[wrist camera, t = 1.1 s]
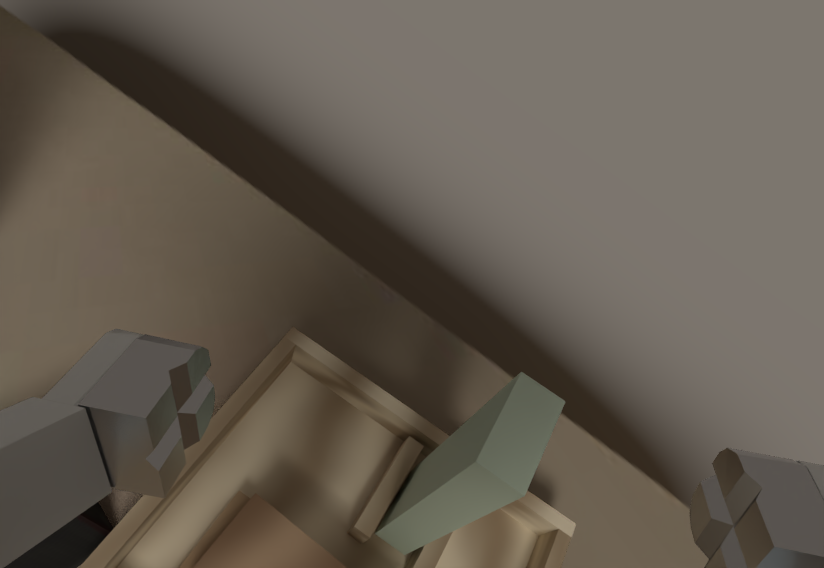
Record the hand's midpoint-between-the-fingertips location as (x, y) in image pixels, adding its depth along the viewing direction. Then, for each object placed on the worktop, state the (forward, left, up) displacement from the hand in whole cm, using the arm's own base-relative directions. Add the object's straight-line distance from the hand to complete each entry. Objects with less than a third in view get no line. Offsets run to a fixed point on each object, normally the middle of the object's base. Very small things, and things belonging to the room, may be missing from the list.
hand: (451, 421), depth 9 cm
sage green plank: (+5, +8, -32) cm, 33 cm away
